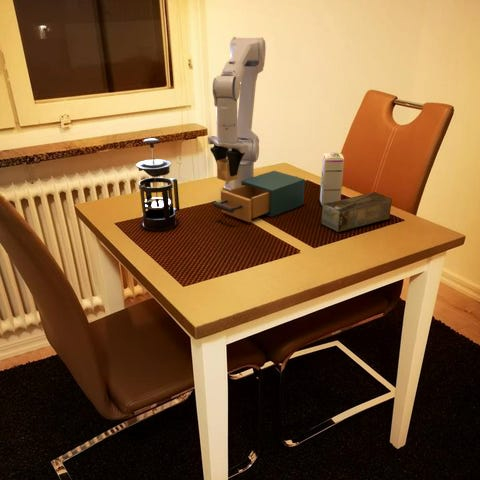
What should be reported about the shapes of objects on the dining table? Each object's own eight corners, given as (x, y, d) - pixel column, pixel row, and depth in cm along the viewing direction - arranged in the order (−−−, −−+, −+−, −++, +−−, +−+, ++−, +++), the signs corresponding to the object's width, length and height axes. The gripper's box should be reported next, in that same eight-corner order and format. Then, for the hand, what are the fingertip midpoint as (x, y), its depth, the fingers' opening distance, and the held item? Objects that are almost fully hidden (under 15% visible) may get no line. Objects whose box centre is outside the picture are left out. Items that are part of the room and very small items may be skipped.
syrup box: (340, 206, 149) (345, 157, 141) (320, 206, 149) (325, 157, 141) (337, 199, 154) (342, 152, 146) (318, 199, 154) (322, 152, 146)
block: (217, 178, 143) (216, 160, 141) (228, 175, 146) (228, 157, 143) (227, 181, 141) (227, 163, 138) (238, 178, 143) (238, 160, 140)
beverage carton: (319, 223, 138) (321, 200, 134) (371, 211, 146) (375, 189, 142) (337, 233, 132) (340, 209, 128) (390, 220, 140) (394, 197, 136)
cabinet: (271, 217, 142) (272, 190, 138) (241, 206, 150) (241, 180, 145) (303, 204, 150) (304, 179, 146) (273, 195, 158) (274, 170, 154)
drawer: (236, 226, 134) (235, 204, 131) (208, 216, 141) (208, 194, 137) (280, 209, 145) (281, 189, 141) (253, 200, 151) (253, 180, 148)
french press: (151, 234, 132) (142, 146, 119) (134, 224, 138) (123, 139, 125) (188, 223, 138) (182, 138, 125) (169, 214, 144) (162, 132, 131)
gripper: (198, 122, 137) (201, 171, 145) (234, 130, 128) (235, 182, 136) (217, 118, 141) (218, 166, 149) (253, 126, 133) (253, 176, 140)
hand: (227, 173), depth 143 cm, fingers closed on block, 4 cm apart
